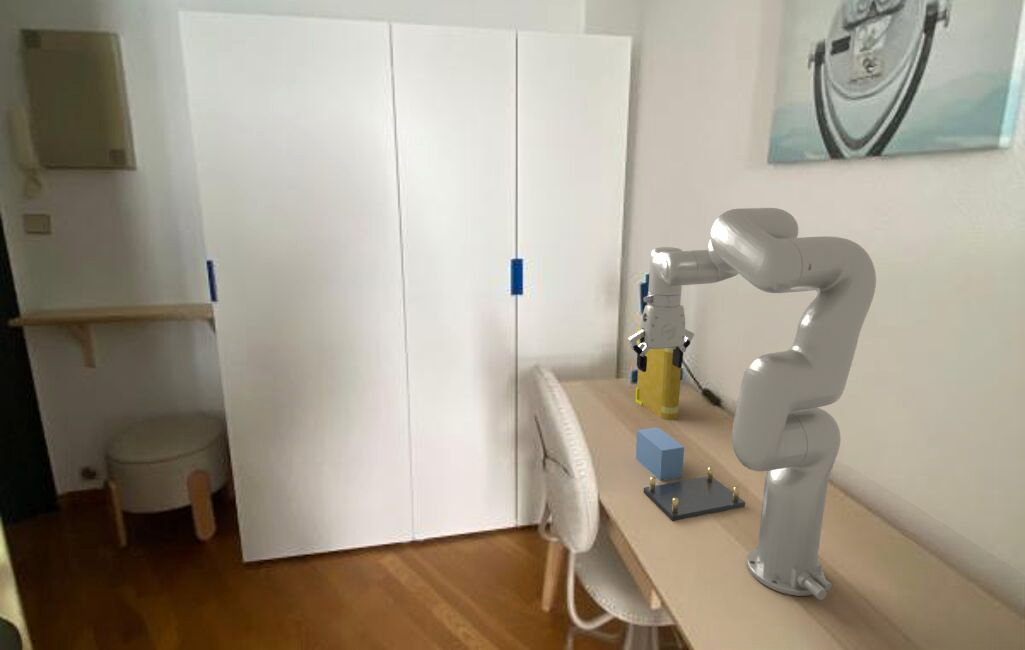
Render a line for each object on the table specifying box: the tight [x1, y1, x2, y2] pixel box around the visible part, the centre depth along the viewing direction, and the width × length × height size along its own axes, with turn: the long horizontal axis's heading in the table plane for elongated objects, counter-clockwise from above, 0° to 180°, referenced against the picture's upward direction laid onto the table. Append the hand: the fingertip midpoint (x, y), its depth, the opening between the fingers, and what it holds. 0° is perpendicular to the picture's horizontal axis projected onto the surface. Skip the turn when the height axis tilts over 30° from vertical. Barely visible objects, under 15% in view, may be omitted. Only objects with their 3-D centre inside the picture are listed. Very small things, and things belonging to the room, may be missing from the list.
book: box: [634, 327, 682, 421], centre depth 171 cm, size 17×7×25 cm, turn 17°
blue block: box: [635, 427, 685, 482], centre depth 137 cm, size 12×6×8 cm, turn 16°
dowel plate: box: [643, 466, 746, 522], centre depth 123 cm, size 12×18×4 cm, turn 106°
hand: (659, 368), depth 134 cm, fingers open, 9 cm apart
